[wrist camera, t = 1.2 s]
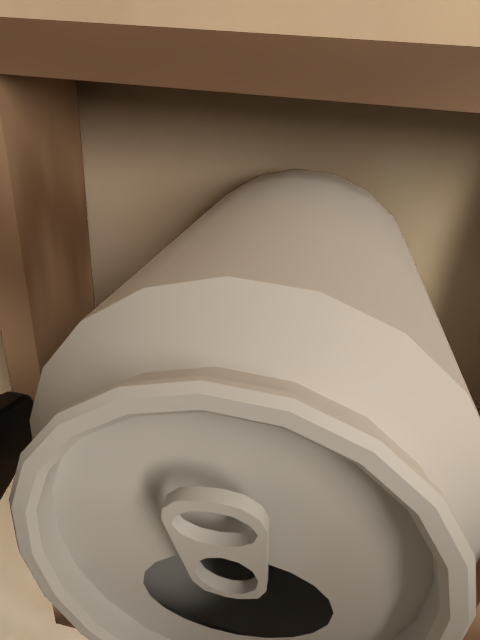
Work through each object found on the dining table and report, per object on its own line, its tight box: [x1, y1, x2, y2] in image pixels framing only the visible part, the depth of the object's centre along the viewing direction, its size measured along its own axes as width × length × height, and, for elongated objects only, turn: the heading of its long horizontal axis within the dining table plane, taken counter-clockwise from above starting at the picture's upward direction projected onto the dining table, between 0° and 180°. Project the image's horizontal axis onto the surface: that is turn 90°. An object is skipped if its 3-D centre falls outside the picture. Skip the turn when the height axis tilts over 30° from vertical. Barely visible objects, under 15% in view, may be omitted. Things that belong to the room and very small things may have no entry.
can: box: [9, 169, 480, 640], centre depth 11 cm, size 8×8×12 cm
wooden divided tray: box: [0, 17, 480, 640], centre depth 17 cm, size 25×18×4 cm
